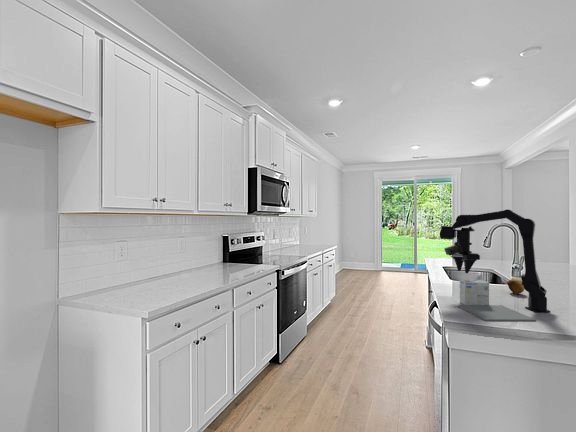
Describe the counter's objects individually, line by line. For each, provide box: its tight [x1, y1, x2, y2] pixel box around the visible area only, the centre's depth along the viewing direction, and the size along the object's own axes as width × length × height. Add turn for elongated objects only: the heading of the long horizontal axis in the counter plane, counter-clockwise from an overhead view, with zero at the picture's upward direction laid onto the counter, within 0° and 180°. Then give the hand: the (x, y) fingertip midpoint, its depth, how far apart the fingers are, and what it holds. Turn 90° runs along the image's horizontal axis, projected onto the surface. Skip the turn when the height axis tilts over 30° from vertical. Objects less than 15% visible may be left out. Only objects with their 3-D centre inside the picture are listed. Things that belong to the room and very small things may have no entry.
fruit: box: [506, 277, 525, 295], centre depth 173 cm, size 8×8×8 cm
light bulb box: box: [459, 279, 490, 305], centre depth 152 cm, size 11×7×11 cm, turn 84°
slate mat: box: [457, 304, 537, 322], centre depth 138 cm, size 20×20×1 cm
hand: (462, 272), depth 162 cm, fingers open, 6 cm apart
